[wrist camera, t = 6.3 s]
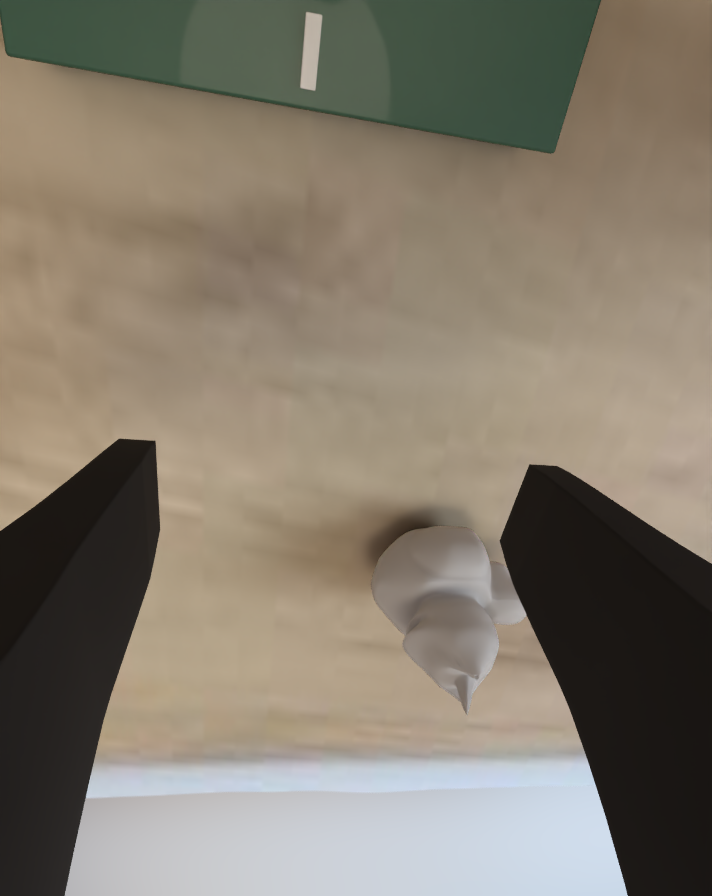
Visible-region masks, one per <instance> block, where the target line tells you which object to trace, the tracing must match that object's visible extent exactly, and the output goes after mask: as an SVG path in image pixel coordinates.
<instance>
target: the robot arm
mask: <svg viewBox="0 0 712 896" xmlns="http://www.w3.org/2000/svg"><path fill="white" fill-rule="evenodd" d="M159 532H160V519H159V500H158V481H157V462H156V443H155V441H147V440H131V439H118V440H117V441H116V442H114V443H113V444H112V445H111V446H109V447H108V448H107V449H106V450H104V451H103V452H102V453H101V454H99V455H98V456H97V457H96V458H95V459H93V460H92V461H91V462H90V463H89V464H87V465H86V466H85V467H84V468H83V469H81V470H80V471H79V472H78V473H76V474H75V475H74V476H73V477H72V478H70V479H69V480H68V481H67V482H65V483H64V484H63V485H62V486H60V487H59V488H58V489H57V490H55V491H54V492H53V493H51V494H50V495H49V496H48V497H46V498H45V499H44V500H43V501H41V502H40V503H39V504H37V505H36V506H35V507H33V508H32V509H31V510H29V511H28V512H26V513H25V514H24V515H22V516H21V517H19V518H18V519H17V520H15V521H14V522H12V523H11V524H10V525H8V526H7V527H5V528H4V529H3V530H1V531H0V896H64V895H65V891H66V886H67V881H68V876H69V871H70V866H71V862H72V857H73V852H74V847H75V843H76V838H77V834H78V829H79V825H80V820H81V816H82V811H83V806H84V802H85V798H86V793H87V788H88V784H89V780H90V775H91V771H92V767H93V763H94V758H95V754H96V750H97V745H98V741H99V737H100V733H101V728H102V724H103V720H104V717H105V713H106V710H107V707H108V703H109V700H110V696H111V693H112V690H113V687H114V684H115V681H116V678H117V675H118V672H119V669H120V667H121V664H122V661H123V658H124V655H125V652H126V649H127V646H128V643H129V640H130V637H131V634H132V631H133V628H134V625H135V622H136V620H137V617H138V614H139V611H140V608H141V605H142V602H143V599H144V596H145V593H146V590H147V587H148V583H149V580H150V577H151V572H152V567H153V563H154V558H155V553H156V548H157V542H158V537H159ZM500 543H501V547H502V550H503V554H504V558H505V561H506V565H507V568H508V571H509V574H510V577H511V580H512V583H513V586H514V588H515V590H516V593H517V595H518V597H519V599H520V602H521V604H522V606H523V608H524V610H525V612H526V615H527V617H528V619H529V621H530V623H531V625H532V627H533V630H534V632H535V634H536V636H537V638H538V640H539V642H540V644H541V646H542V649H543V651H544V653H545V655H546V657H547V659H548V661H549V663H550V666H551V668H552V670H553V672H554V674H555V676H556V678H557V680H558V683H559V685H560V687H561V689H562V692H563V694H564V696H565V699H566V701H567V704H568V706H569V708H570V711H571V714H572V717H573V720H574V722H575V725H576V728H577V731H578V734H579V737H580V739H581V742H582V745H583V748H584V751H585V754H586V756H587V759H588V762H589V765H590V769H591V772H592V775H593V778H594V781H595V784H596V787H597V790H598V794H599V797H600V800H601V803H602V806H603V809H604V812H605V816H606V819H607V823H608V826H609V830H610V833H611V837H612V840H613V844H614V847H615V851H616V854H617V858H618V862H619V865H620V869H621V872H622V875H623V879H624V882H625V886H626V890H627V895H628V896H712V564H711V563H709V562H708V561H706V560H704V559H703V558H701V557H699V556H698V555H696V554H695V553H693V552H691V551H690V550H688V549H686V548H685V547H683V546H681V545H680V544H678V543H677V542H675V541H674V540H672V539H670V538H669V537H667V536H666V535H664V534H663V533H661V532H659V531H658V530H656V529H655V528H653V527H652V526H650V525H649V524H647V523H646V522H644V521H643V520H641V519H640V518H638V517H637V516H635V515H634V514H632V513H631V512H629V511H628V510H626V509H625V508H623V507H622V506H620V505H619V504H617V503H616V502H614V501H613V500H611V499H610V498H608V497H607V496H605V495H604V494H602V493H601V492H599V491H598V490H596V489H595V488H593V487H592V486H590V485H589V484H587V483H585V482H584V481H582V480H581V479H579V478H577V477H576V476H574V475H572V474H571V473H569V472H567V471H565V470H564V469H562V468H560V467H558V466H546V465H530V464H529V467H528V470H527V472H526V475H525V477H524V480H523V482H522V485H521V488H520V490H519V493H518V495H517V498H516V500H515V503H514V505H513V508H512V511H511V513H510V516H509V518H508V521H507V523H506V526H505V529H504V531H503V534H502V536H501V539H500Z"/></svg>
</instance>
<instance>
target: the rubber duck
mask: <svg viewBox="0 0 712 896" xmlns="http://www.w3.org/2000/svg"><path fill="white" fill-rule="evenodd" d="M371 589H372V594H373V597H374V600H375V602H376V604H377V605H378V607H379V608H380V609H381V610H382V611H383V613H384V614H385V615H386V616H387V618H388V619H389V620H390V621H391V622H392V623H393V624H394V626H395V627H396V628H397V629H398V630H399V631H400V632H401V633H403V634H404V635H405V638H404V640H403V648H404V650H405V652H406V653H407V654H408V656H409V657H410V658H411V659H412V660H413V661H414V662H415V663H416V664H417V665H418V666H419V667H421V668H422V669H423V670H424V671H425V672H426V673H427V674H428V675H429V676H430V677H431V678H432V679H433V680H434V681H435V682H436V684H437V685H438V686H439V687H441V688H442V689H444V690H445V691H447V692H448V693H450V694H451V695H452V696H453V697H455V698H456V699H457V700H458V701H460V702H461V704H462V706H463V709H464V711H465V713H466V715H468V711H469V708H470V703H471V699H472V694H473V692H474V691H475V690H476V688H477V687H478V685H479V684H480V683H481V682H482V681H483V679H484V678H485V677H486V676H487V675H488V673H489V672H490V670H491V669H492V667H493V664H494V661H495V658H496V655H497V652H498V648H499V640H498V636H497V632H496V629H495V626H494V624H493V623H495V624H501V625H512V624H516V623H518V622H520V621H522V620H523V619H524V618H525V617H526V612H525V610H524V608H523V606H522V604H521V602H520V599H519V597H518V595H517V593H516V590H515V588H514V586H513V583H512V580H511V577H510V574H509V571H508V569H507V568H506V566H504V565H503V564H501V563H499V562H494V561H489V557H488V555H487V552H486V549H485V547H484V545H483V543H482V541H481V540H480V538H479V537H478V536H477V534H476V533H475V532H474V531H473V530H471V529H469V528H465V527H453V526H433V527H429V528H422V529H415V530H412V531H409V532H407V533H405V534H403V535H402V536H400V537H399V538H398V539H397V540H395V541H394V542H393V543H392V544H391V545H390V546H389V547H388V548H387V549H386V550H385V552H384V553H383V554H382V555H381V556H380V558H379V560H378V562H377V565H376V567H375V570H374V572H373V576H372V580H371Z"/></svg>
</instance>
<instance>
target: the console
mask: <svg viewBox="0 0 712 896" xmlns="http://www.w3.org/2000/svg"><path fill="white" fill-rule="evenodd" d="M600 2H601V0H0V19H1V25H2V32H3V38H4V44H5V51H6V53H7V55H8V56H10V57H15V58H21V59H27V60H32V61H38V62H43V63H49V64H54V65H60V66H66V67H71V68H77V69H82V70H88V71H93V72H99V73H104V74H110V75H116V76H121V77H127V78H132V79H138V80H143V81H149V82H155V83H160V84H166V85H171V86H177V87H182V88H188V89H193V90H199V91H205V92H210V93H216V94H221V95H227V96H232V97H238V98H244V99H249V100H255V101H260V102H266V103H271V104H277V105H283V106H288V107H294V108H299V109H305V110H310V111H316V112H321V113H327V114H333V115H338V116H344V117H349V118H355V119H360V120H366V121H372V122H377V123H383V124H388V125H394V126H399V127H405V128H410V129H416V130H422V131H427V132H433V133H438V134H444V135H449V136H455V137H461V138H466V139H472V140H477V141H483V142H488V143H494V144H500V145H505V146H511V147H516V148H522V149H527V150H533V151H538V152H544V153H550V154H552V153H554V151H555V149H556V145H557V142H558V139H559V135H560V132H561V129H562V126H563V122H564V119H565V116H566V113H567V109H568V106H569V103H570V100H571V96H572V93H573V90H574V87H575V83H576V80H577V77H578V73H579V70H580V67H581V64H582V60H583V57H584V54H585V51H586V47H587V44H588V41H589V38H590V34H591V31H592V28H593V24H594V21H595V18H596V15H597V11H598V8H599V5H600Z"/></svg>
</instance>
